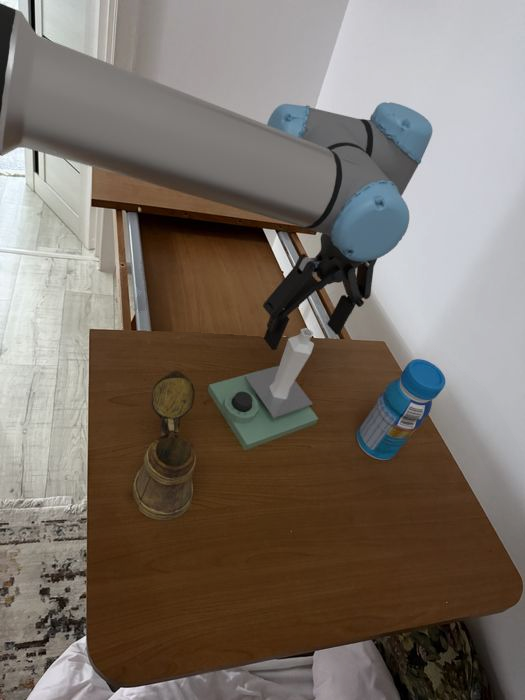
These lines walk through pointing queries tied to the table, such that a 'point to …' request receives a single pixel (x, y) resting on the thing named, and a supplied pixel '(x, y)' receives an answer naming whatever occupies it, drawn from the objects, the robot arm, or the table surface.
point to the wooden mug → (168, 454)
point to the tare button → (242, 401)
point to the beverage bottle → (400, 409)
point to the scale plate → (272, 404)
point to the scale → (255, 414)
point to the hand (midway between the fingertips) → (302, 336)
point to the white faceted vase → (292, 363)
